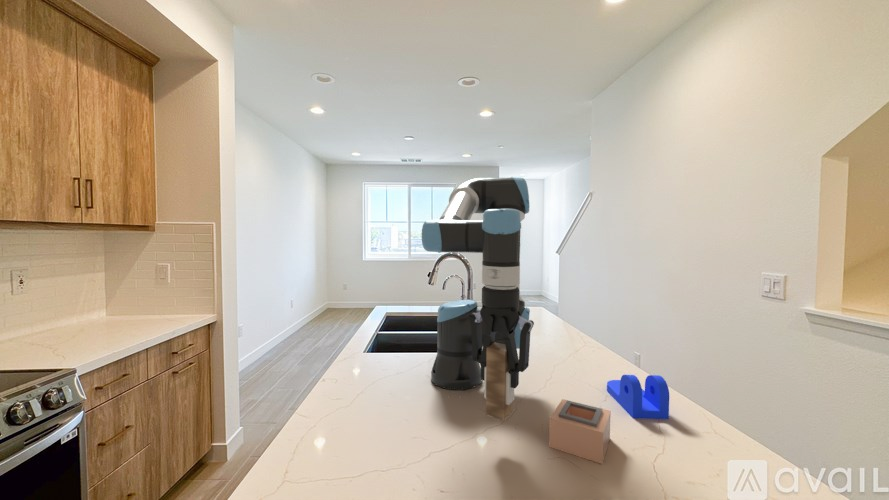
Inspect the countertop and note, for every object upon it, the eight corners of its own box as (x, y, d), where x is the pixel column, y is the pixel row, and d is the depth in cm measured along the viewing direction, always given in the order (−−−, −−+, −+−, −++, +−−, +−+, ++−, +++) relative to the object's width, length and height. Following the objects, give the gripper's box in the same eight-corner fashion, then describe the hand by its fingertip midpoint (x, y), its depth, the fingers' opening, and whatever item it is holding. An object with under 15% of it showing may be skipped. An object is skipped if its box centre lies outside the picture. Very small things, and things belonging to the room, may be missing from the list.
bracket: (668, 419, 84) (669, 382, 83) (632, 418, 84) (633, 381, 84) (631, 387, 102) (632, 356, 101) (602, 386, 102) (602, 355, 102)
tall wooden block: (485, 414, 73) (486, 347, 72) (493, 406, 76) (494, 342, 75) (504, 420, 71) (505, 351, 70) (511, 411, 74) (512, 345, 73)
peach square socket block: (549, 446, 72) (549, 414, 72) (561, 424, 81) (562, 396, 81) (602, 463, 67) (603, 429, 67) (609, 438, 75) (610, 408, 75)
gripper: (454, 284, 73) (454, 395, 75) (536, 293, 64) (533, 419, 65) (471, 280, 79) (470, 382, 81) (548, 287, 70) (545, 402, 72)
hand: (499, 398), depth 73 cm, fingers closed on tall wooden block, 4 cm apart
